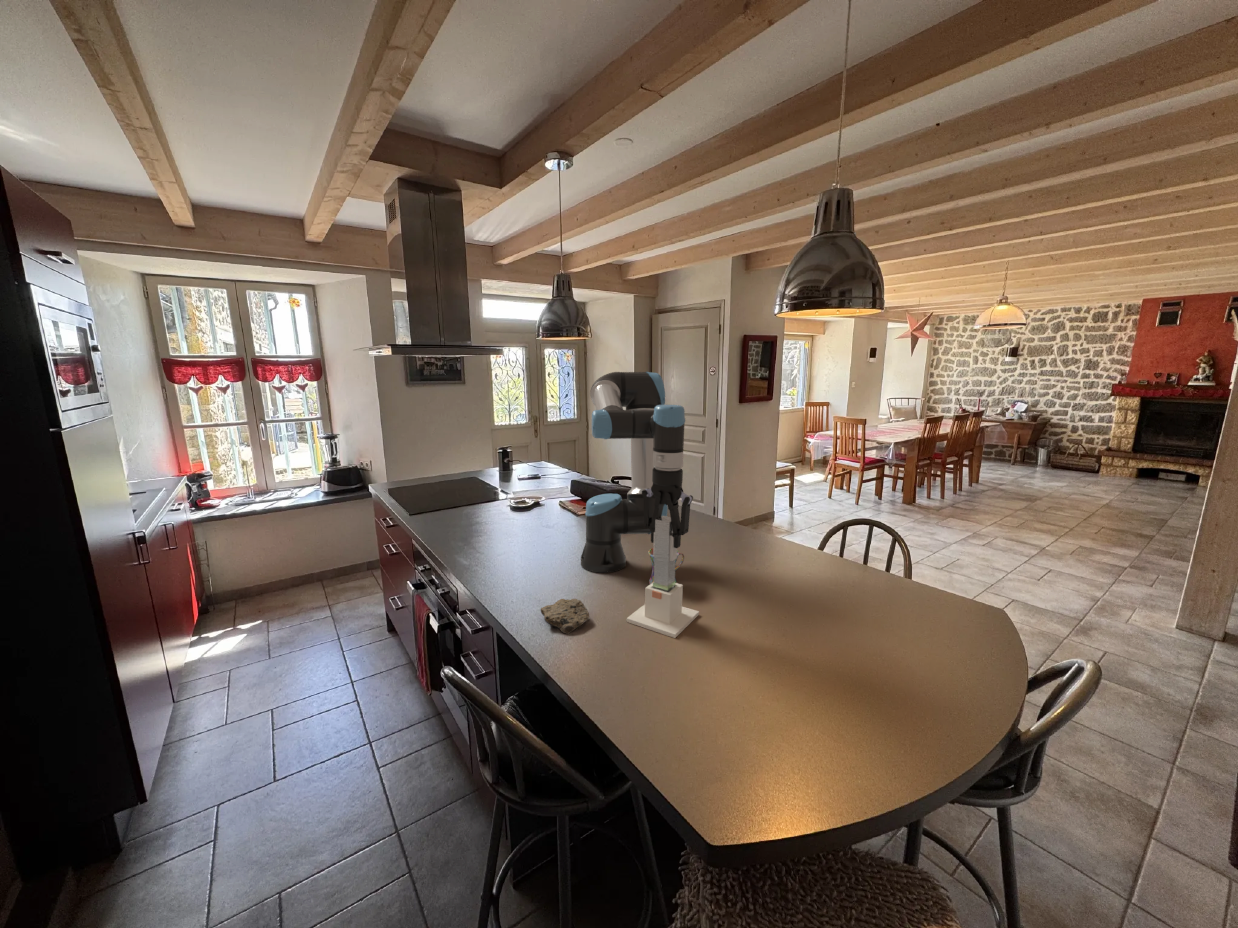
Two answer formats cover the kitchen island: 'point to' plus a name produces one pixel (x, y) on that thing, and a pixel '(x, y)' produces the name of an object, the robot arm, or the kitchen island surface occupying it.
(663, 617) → the stand
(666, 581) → the column
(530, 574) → the kitchen island surface
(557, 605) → the rock
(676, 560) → the mug
